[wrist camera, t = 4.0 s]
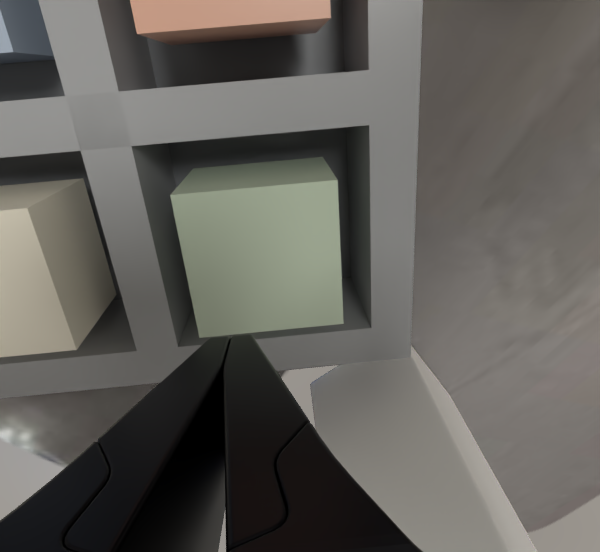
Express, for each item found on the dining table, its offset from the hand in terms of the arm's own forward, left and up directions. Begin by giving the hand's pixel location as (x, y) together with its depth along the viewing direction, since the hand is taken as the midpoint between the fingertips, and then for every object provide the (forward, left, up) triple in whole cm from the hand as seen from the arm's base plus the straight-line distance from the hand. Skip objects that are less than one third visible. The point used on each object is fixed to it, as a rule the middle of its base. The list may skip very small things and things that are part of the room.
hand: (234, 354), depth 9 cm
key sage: (0, 0, -10) cm, 10 cm away
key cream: (+9, 0, -10) cm, 13 cm away
